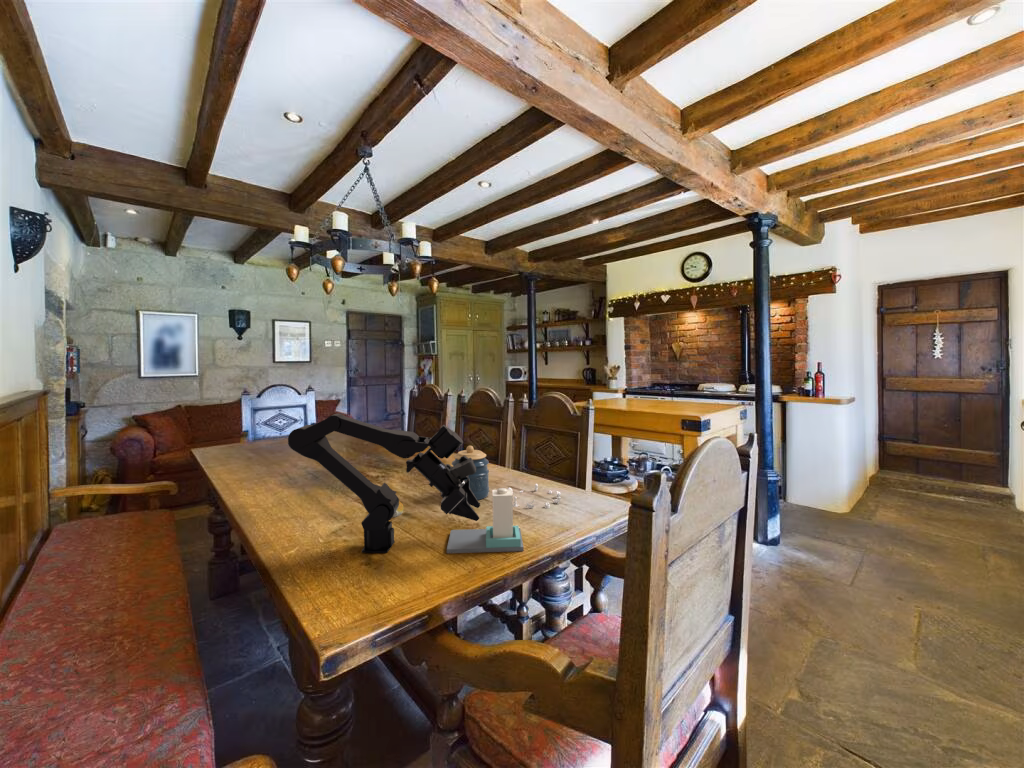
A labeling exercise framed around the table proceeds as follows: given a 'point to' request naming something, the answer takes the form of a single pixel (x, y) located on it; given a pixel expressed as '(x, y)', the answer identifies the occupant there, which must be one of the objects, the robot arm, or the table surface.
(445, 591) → the table surface
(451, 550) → the baseplate
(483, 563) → the table surface
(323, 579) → the table surface
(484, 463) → the canister
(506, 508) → the column
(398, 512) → the bread roll
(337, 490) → the table surface
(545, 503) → the game piece set
